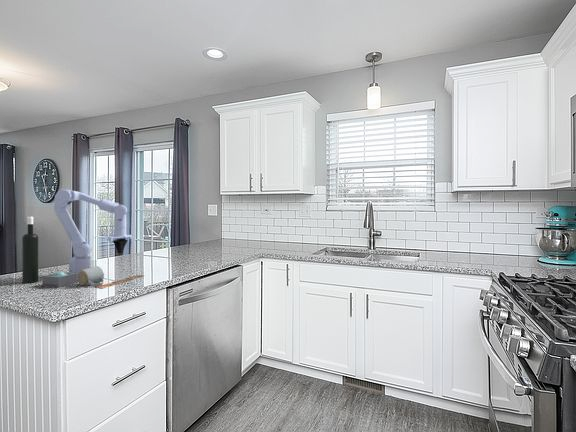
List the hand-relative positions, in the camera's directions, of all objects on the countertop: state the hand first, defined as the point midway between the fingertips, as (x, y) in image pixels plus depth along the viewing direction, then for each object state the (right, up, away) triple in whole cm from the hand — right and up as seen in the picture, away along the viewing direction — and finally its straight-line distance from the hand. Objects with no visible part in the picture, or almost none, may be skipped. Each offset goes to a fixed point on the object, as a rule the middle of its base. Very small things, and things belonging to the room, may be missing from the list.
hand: (120, 253), depth 171 cm
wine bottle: (-29, -11, -23) cm, 39 cm away
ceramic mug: (0, -12, -25) cm, 27 cm away
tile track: (+10, -11, -18) cm, 23 cm away
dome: (-13, -10, -26) cm, 31 cm away
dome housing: (-13, -11, -26) cm, 31 cm away
